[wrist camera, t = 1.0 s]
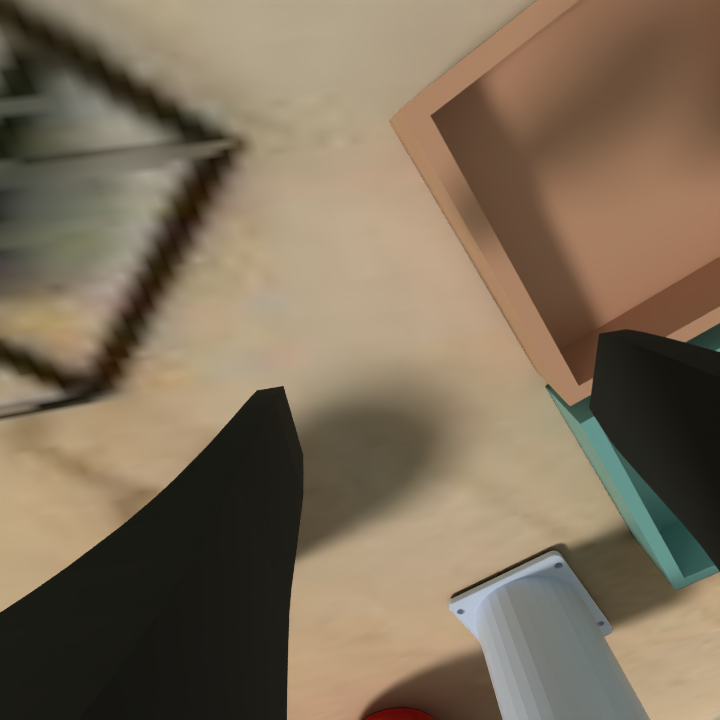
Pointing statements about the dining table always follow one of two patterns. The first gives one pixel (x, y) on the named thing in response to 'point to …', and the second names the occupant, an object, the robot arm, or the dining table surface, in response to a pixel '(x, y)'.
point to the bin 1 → (583, 173)
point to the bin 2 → (641, 492)
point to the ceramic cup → (400, 715)
